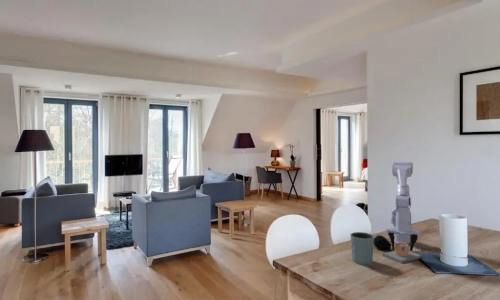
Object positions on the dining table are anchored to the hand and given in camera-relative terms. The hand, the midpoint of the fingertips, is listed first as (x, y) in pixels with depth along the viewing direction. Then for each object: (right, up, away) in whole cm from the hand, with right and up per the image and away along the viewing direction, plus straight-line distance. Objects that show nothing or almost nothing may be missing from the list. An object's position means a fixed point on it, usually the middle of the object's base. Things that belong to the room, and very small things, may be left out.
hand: (402, 249), depth 150 cm
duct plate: (0, -3, 0) cm, 3 cm away
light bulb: (-4, -3, +10) cm, 11 cm away
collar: (0, -2, 0) cm, 2 cm away
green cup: (-21, -4, -5) cm, 22 cm away
